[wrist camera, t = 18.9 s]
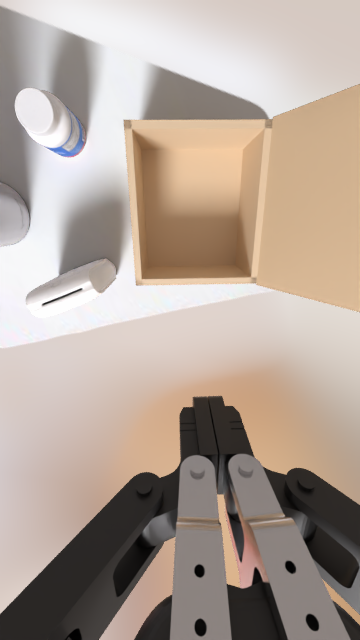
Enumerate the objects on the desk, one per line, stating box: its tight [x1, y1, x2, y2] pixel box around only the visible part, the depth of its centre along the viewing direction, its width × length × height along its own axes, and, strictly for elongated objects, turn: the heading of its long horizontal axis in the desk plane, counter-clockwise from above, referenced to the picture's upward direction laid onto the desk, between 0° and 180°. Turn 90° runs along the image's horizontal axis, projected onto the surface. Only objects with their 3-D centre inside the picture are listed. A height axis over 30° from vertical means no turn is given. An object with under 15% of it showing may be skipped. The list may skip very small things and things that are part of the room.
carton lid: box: [256, 84, 360, 312], centre depth 27 cm, size 16×18×6 cm
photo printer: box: [26, 258, 116, 317], centre depth 38 cm, size 10×4×12 cm, turn 111°
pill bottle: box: [15, 88, 86, 157], centre depth 32 cm, size 6×5×10 cm
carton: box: [124, 119, 273, 285], centre depth 36 cm, size 16×18×10 cm
